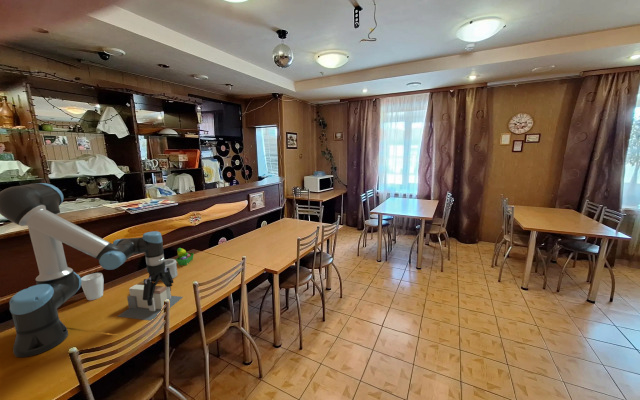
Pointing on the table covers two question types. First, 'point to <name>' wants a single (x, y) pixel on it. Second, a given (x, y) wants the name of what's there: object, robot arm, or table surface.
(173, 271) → the mug
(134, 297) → the cream rectangular block
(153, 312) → the slate mat
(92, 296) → the cup
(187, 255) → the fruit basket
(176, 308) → the table surface
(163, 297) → the brown topped white box
